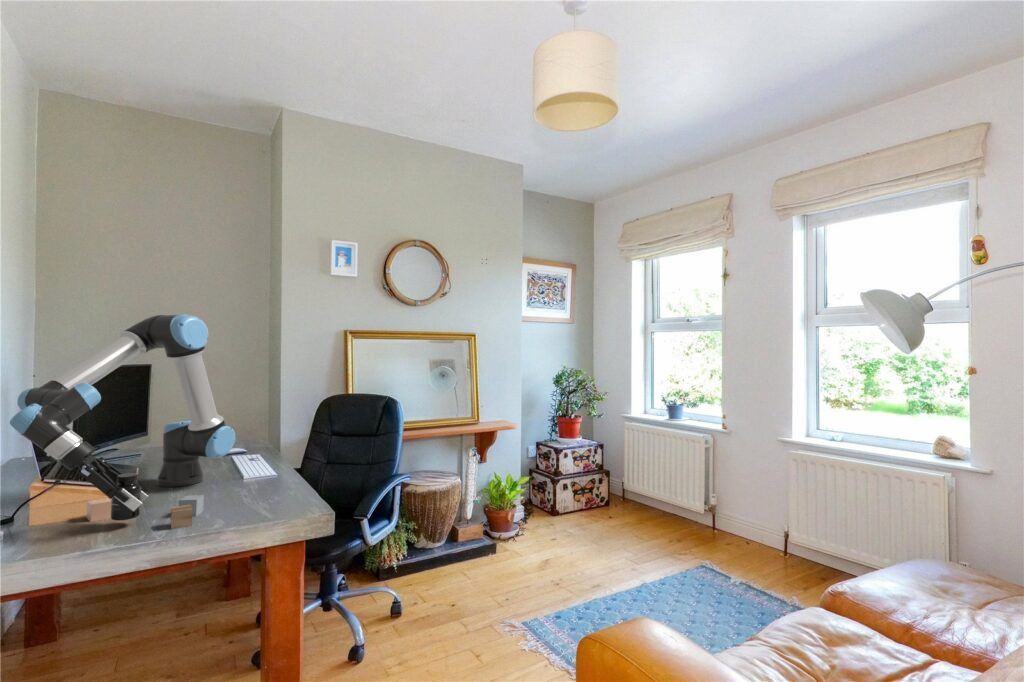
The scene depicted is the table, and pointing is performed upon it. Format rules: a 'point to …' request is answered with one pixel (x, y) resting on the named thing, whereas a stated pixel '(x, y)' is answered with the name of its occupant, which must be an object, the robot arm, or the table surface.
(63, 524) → the table surface
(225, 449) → the robot arm
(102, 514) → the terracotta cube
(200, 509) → the slate grey cube
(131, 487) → the supplement bottle
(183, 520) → the walnut cube
